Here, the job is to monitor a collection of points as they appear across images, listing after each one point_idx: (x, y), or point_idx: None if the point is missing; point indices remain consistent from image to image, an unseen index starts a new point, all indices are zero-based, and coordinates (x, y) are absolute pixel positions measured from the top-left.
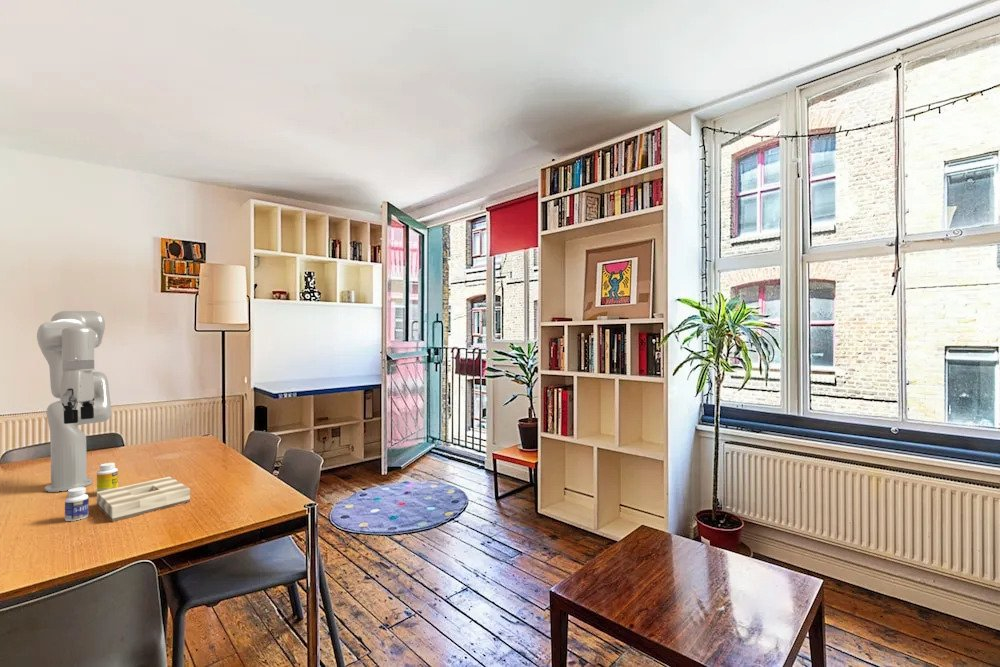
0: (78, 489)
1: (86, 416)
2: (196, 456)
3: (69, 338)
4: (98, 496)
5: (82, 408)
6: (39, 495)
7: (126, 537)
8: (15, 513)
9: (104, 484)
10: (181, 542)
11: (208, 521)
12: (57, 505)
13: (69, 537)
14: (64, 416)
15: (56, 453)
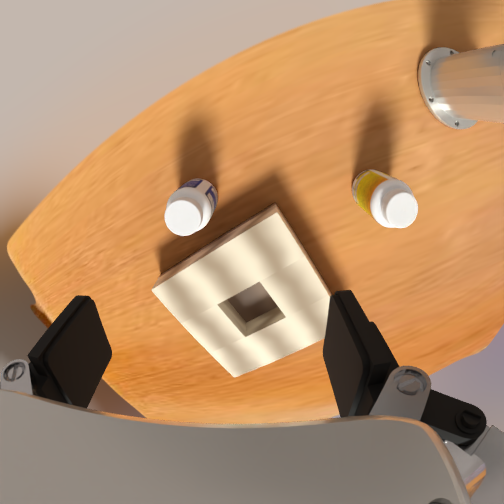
0: (178, 224)
1: (331, 335)
2: None
3: None
4: (259, 220)
5: (356, 368)
6: (406, 45)
7: (100, 313)
8: (282, 44)
9: (359, 196)
10: None
11: (146, 384)
12: (314, 108)
13: (105, 235)
14: (53, 327)
15: (486, 59)
